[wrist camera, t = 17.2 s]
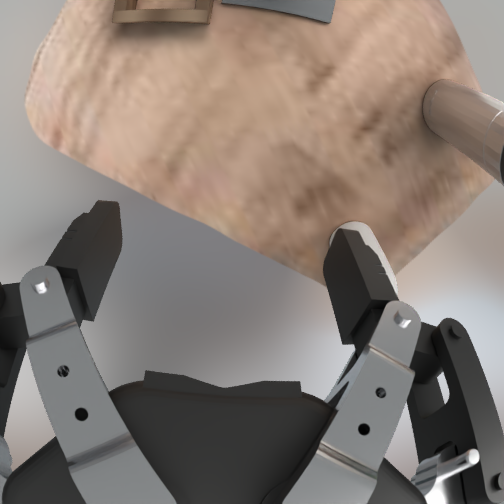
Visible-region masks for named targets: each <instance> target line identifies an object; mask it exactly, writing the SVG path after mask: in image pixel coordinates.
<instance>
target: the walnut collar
mask: <svg viewBox="0 0 504 504" xmlns="http://www.w3.org/2000/svg"><path fill="white" fill-rule="evenodd" d="M213 2H214V0H196V6H195V10H192V9H142V10H135V9H136V3H137V0H115V5H114V12H113V19H112V23H122V24H123V23H143V22H180V23H201V24H210V18H211V13H212V7H213Z"/></svg>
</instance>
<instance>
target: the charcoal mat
mask: <svg viewBox="0 0 504 504" xmlns="http://www.w3.org/2000/svg"><path fill="white" fill-rule="evenodd" d="M222 3H225V4H235V5H243V6H250V7H257V8H263V9H269V10H275V11H280V12H285V13H290V14H294V15H299V16H303V17H307V18H311V19H315V20H319V21H323V22H326V23H331V18H332V14H333V9H334V5H335V0H222Z"/></svg>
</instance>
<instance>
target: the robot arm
mask: <svg viewBox="0 0 504 504" xmlns="http://www.w3.org/2000/svg"><path fill="white" fill-rule="evenodd" d="M423 115H424V119H425V122H426V123H427V125H428V127H429V128H430V129H431V130H432V131H433V132H434V133H436V134H437V135H439V136H440V137H441V138H443V139H444V140H446V141H447V142H448V143H450V144H451V145H453V146H454V147H455V148H457V149H458V150H459V151H461V152H462V153H463V154H465V155H466V156H467V157H469V158H470V159H471V160H473V161H474V162H475V163H476V164H478V165H479V166H480V167H481V168H483V169H484V170H485V171H486V172H488V173H489V174H490V175H491V176H492V177H494V178H495V179H496V180H497V181H498V182H499V183H501V184H502V185H503V186H504V102H502V101H500V100H498V99H496V98H493V97H491V96H489V95H487V94H485V93H482V92H480V91H478V90H475V89H473V88H470V87H468V86H466V85H463V84H461V83H458V82H455V81H452V80H449V79H443V80H439V81H437V82H435V83H434V84H433V85H432V86H431V87H430V88H429V89H428V91H427V92H426V95H425V97H424V102H423ZM121 248H122V229H121V219H120V208H119V203H118V202H115V201H102V200H98V201H97V202H96V203H95V205H94V206H93V208H92V209H91V211H90V212H89V213H83V214H82V215H80V216H79V217H77V218H76V219H75V220H74V221H73V222H72V223H71V225H70V226H69V228H68V229H67V232H65V234H64V235H63V237H62V239H61V240H60V242H59V243H58V244H57V246H56V248H55V249H54V251H53V253H52V254H51V256H50V257H49V259H48V261H47V262H46V264H45V266H39V267H36V268H34V269H32V270H30V271H29V272H28V273H26V274H25V276H24V277H23V278H22V280H21V282H20V283H12V284H4V285H2V284H1V282H0V504H498V503H501V502H503V501H504V435H503V431H502V427H501V423H500V420H499V416H498V413H497V410H496V407H495V404H494V400H493V397H492V394H491V392H490V388H489V386H488V383H487V380H486V377H485V374H484V372H483V369H482V367H481V364H480V361H479V359H478V356H477V354H476V351H475V349H474V346H473V344H472V342H471V339H470V337H469V335H468V333H467V331H466V329H465V328H464V327H463V325H461V324H460V323H459V322H458V321H456V320H454V319H452V318H446V319H443V320H442V321H441V322H440V324H439V325H438V326H437V327H436V326H433V325H429V324H426V323H424V322H421V319H420V317H419V315H418V313H417V312H416V311H415V310H414V309H413V308H412V307H411V306H410V305H408V304H406V303H404V302H402V301H399V299H398V297H397V294H396V292H395V290H394V288H393V286H392V284H391V282H390V279H389V277H388V275H386V271H385V269H384V267H383V266H382V263H381V261H380V259H379V257H378V255H377V254H376V253H375V252H374V251H373V249H372V248H371V247H370V246H369V245H365V242H364V240H363V238H362V236H361V234H360V233H359V231H356V230H350V229H343V228H339V229H338V230H337V231H336V233H335V235H334V238H333V240H332V243H331V245H330V248H329V250H328V253H327V255H326V258H325V261H324V266H323V274H324V278H325V281H326V285H327V288H328V292H329V296H330V299H331V303H332V306H333V310H334V314H335V318H336V321H337V325H338V329H339V333H340V337H341V341H342V344H343V345H346V344H347V345H348V344H354V346H355V351H354V352H353V353H352V355H351V357H350V359H349V361H348V362H347V364H346V366H345V368H344V370H343V371H342V373H341V375H340V377H339V379H338V380H337V382H336V384H335V385H334V387H333V389H332V390H331V392H330V394H329V395H328V396H327V398H326V399H325V400H324V401H323V400H321V399H319V398H317V397H315V396H313V395H310V394H307V393H304V392H301V385H300V381H261V382H256V383H250V384H245V385H240V386H234V387H228V388H222V387H218V386H214V385H211V384H208V383H205V382H202V381H199V380H196V379H193V378H190V377H187V376H184V375H177V374H169V373H160V372H154V371H147V370H146V371H145V377H144V381H136V382H132V383H128V384H125V385H122V386H119V387H117V388H115V389H113V390H111V391H110V392H109V391H108V389H107V387H106V385H105V383H104V381H103V379H102V377H101V375H100V373H99V371H98V369H97V367H96V365H95V362H94V360H93V358H92V356H91V354H90V351H89V349H88V347H87V345H86V342H85V340H84V337H83V335H82V332H81V330H80V326H81V323H82V320H88V321H94V319H95V316H96V313H97V310H98V308H99V305H100V302H101V299H102V297H103V294H104V291H105V289H106V287H107V284H108V281H109V279H110V276H111V274H112V271H113V269H114V267H115V264H116V262H117V259H118V257H119V255H120V252H121ZM26 349H27V351H28V355H29V359H30V362H31V366H32V370H33V373H34V377H35V380H36V383H37V386H38V389H39V392H40V395H41V398H42V401H43V404H44V407H45V409H46V412H47V414H48V417H49V420H50V422H51V424H52V427H53V430H54V432H55V434H56V436H55V437H54V438H53V439H52V440H51V441H50V442H48V443H47V444H46V445H45V446H43V447H42V448H41V449H40V450H39V451H37V452H36V453H35V454H34V455H32V456H31V457H30V458H29V459H28V460H26V461H25V462H24V463H23V464H22V465H20V466H19V467H18V468H17V469H16V470H14V471H13V472H12V470H11V464H12V457H11V455H10V452H9V447H8V445H7V443H6V441H5V439H4V432H5V427H6V422H7V418H8V413H9V408H10V404H11V400H12V396H13V392H14V389H15V385H16V381H17V378H18V374H19V371H20V368H21V365H22V361H23V358H24V355H25V352H26ZM442 372H444V375H445V378H446V381H447V384H448V388H449V393H450V395H449V399H448V402H447V403H446V404H444V400H443V396H442V393H441V389H440V386H439V383H438V380H437V377H438V376H439V375H440V374H441V373H442ZM406 401H407V405H408V410H409V414H410V419H411V423H412V428H413V433H414V438H415V443H416V449H417V455H418V461H419V466H418V468H417V470H416V475H414V476H413V477H412V478H411V482H410V481H409V480H408V479H407V478H406V477H405V476H404V475H402V474H401V473H400V472H399V471H398V470H397V469H396V468H395V467H394V466H393V465H392V464H390V462H389V461H388V460H386V459H385V458H384V455H385V453H386V451H387V449H388V446H389V444H390V442H391V439H392V437H393V435H394V432H395V430H396V427H397V425H398V422H399V419H400V417H401V414H402V411H403V409H404V406H405V403H406Z"/></svg>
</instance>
